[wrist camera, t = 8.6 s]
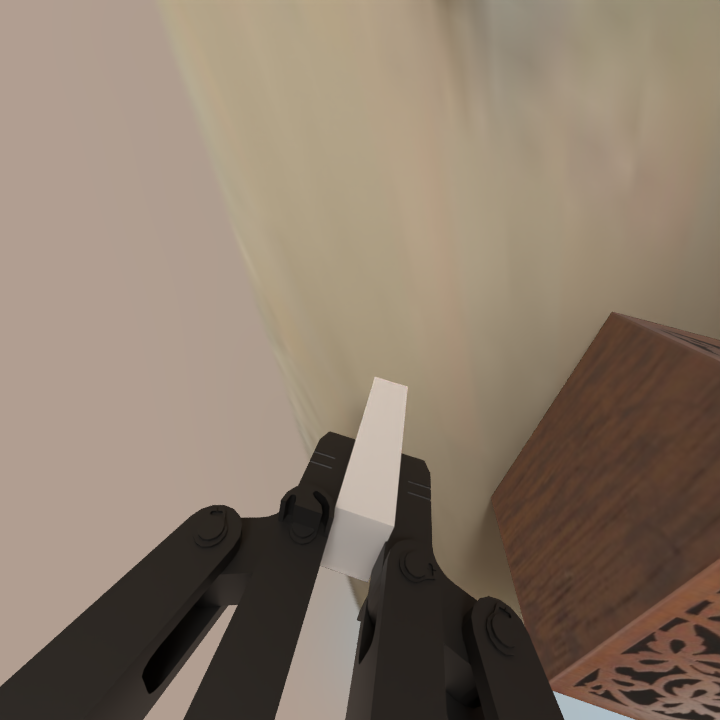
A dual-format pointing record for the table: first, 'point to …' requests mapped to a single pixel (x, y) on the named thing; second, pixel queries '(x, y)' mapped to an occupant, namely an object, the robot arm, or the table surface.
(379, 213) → the table surface
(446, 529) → the table surface
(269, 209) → the table surface
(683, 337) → the tissue box cover
